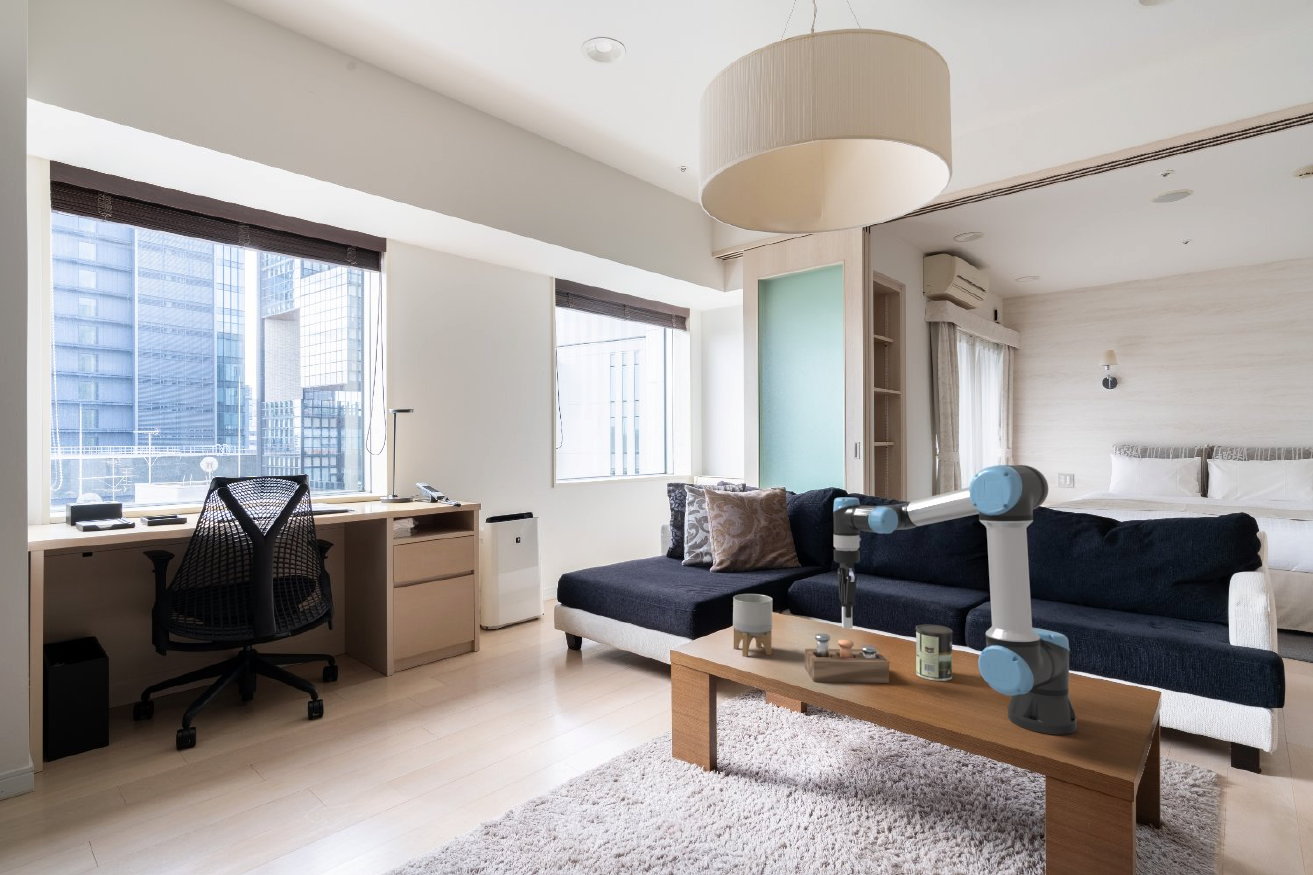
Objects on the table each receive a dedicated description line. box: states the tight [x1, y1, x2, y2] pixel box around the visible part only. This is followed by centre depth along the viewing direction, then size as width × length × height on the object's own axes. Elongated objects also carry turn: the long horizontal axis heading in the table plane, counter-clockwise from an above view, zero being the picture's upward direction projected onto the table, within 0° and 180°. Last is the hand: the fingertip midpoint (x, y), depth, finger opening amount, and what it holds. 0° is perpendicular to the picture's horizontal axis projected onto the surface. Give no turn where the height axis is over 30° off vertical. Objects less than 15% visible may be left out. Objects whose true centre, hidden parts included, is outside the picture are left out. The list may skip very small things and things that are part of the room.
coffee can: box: [915, 623, 954, 682], centre depth 202 cm, size 10×10×14 cm
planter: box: [732, 593, 773, 658], centre depth 224 cm, size 13×13×18 cm
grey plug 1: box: [814, 633, 831, 658], centre depth 202 cm, size 4×4×7 cm
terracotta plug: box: [837, 638, 855, 658], centre depth 202 cm, size 4×4×7 cm
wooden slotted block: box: [804, 648, 890, 684], centre depth 202 cm, size 12×22×6 cm, turn 90°
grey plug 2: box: [860, 645, 878, 658], centre depth 202 cm, size 4×4×7 cm
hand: (847, 627), depth 201 cm, fingers closed
